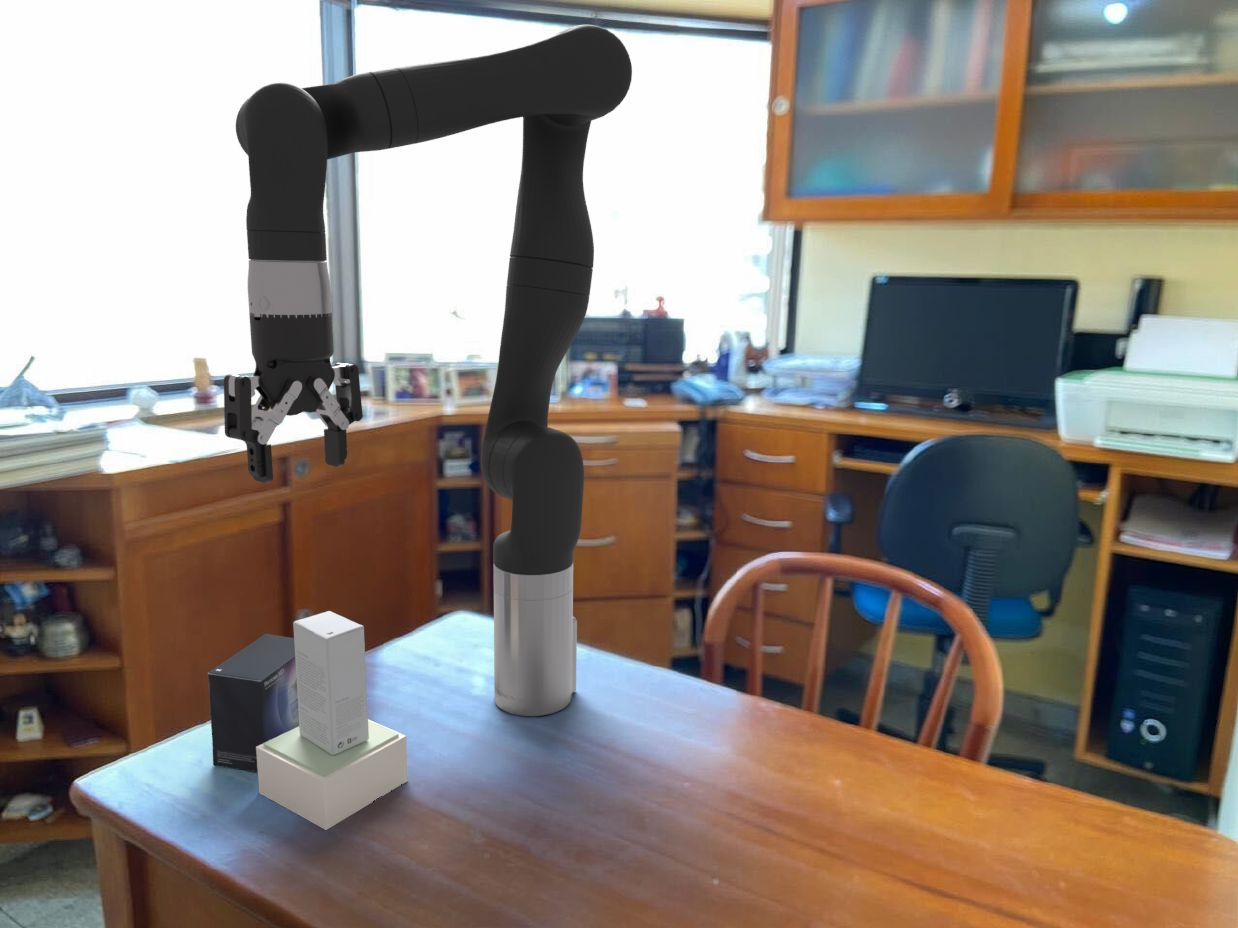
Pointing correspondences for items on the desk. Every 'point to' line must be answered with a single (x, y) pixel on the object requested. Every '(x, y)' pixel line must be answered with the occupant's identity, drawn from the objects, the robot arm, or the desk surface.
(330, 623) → the skincare box
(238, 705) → the small box
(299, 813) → the cream rectangular block
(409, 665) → the desk surface
